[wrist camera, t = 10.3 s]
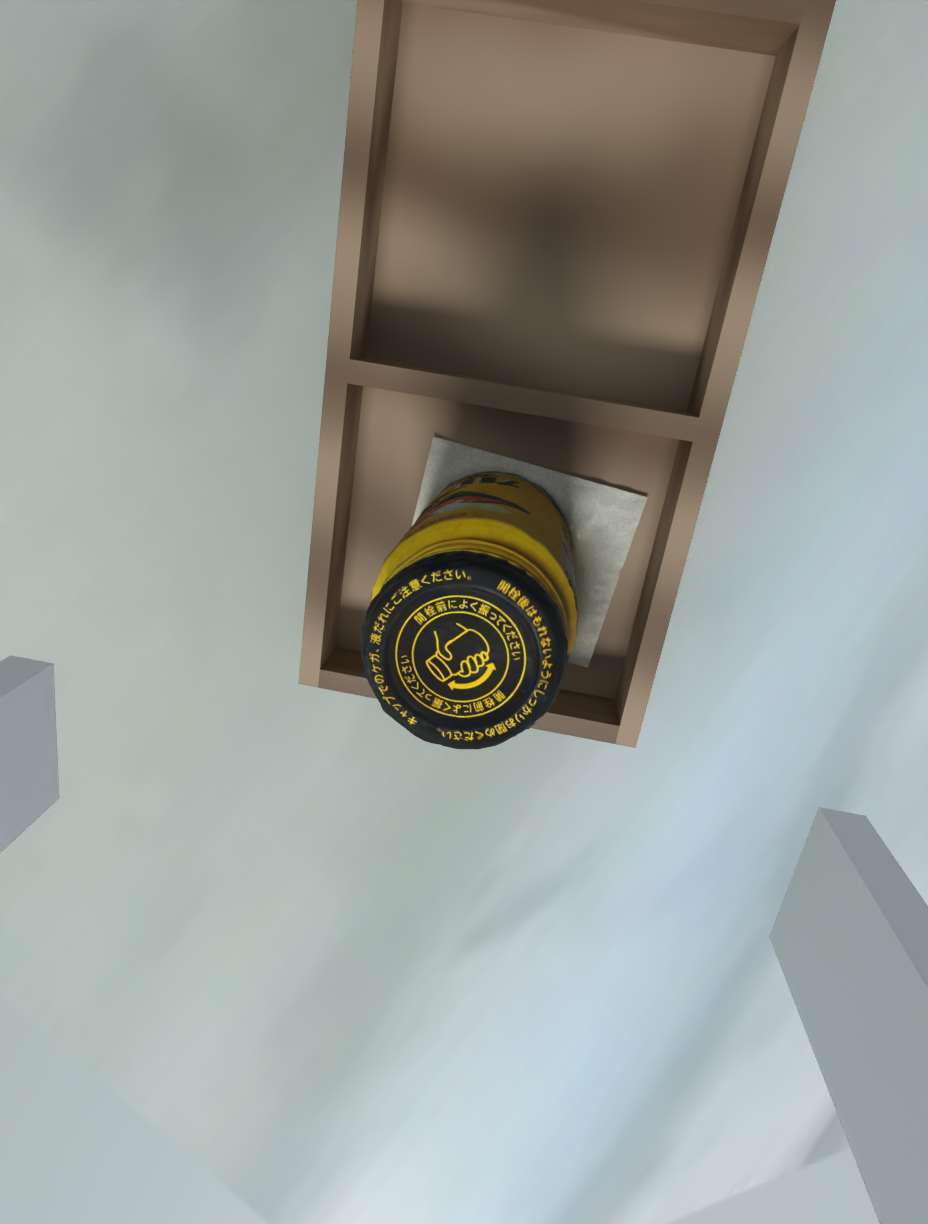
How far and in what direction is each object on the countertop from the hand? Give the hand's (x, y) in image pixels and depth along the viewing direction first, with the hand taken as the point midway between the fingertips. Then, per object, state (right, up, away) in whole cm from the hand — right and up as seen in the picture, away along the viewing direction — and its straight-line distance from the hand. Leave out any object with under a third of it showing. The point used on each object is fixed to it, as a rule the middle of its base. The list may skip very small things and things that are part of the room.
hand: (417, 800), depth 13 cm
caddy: (+3, +11, +15) cm, 19 cm away
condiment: (+3, +6, +17) cm, 18 cm away
